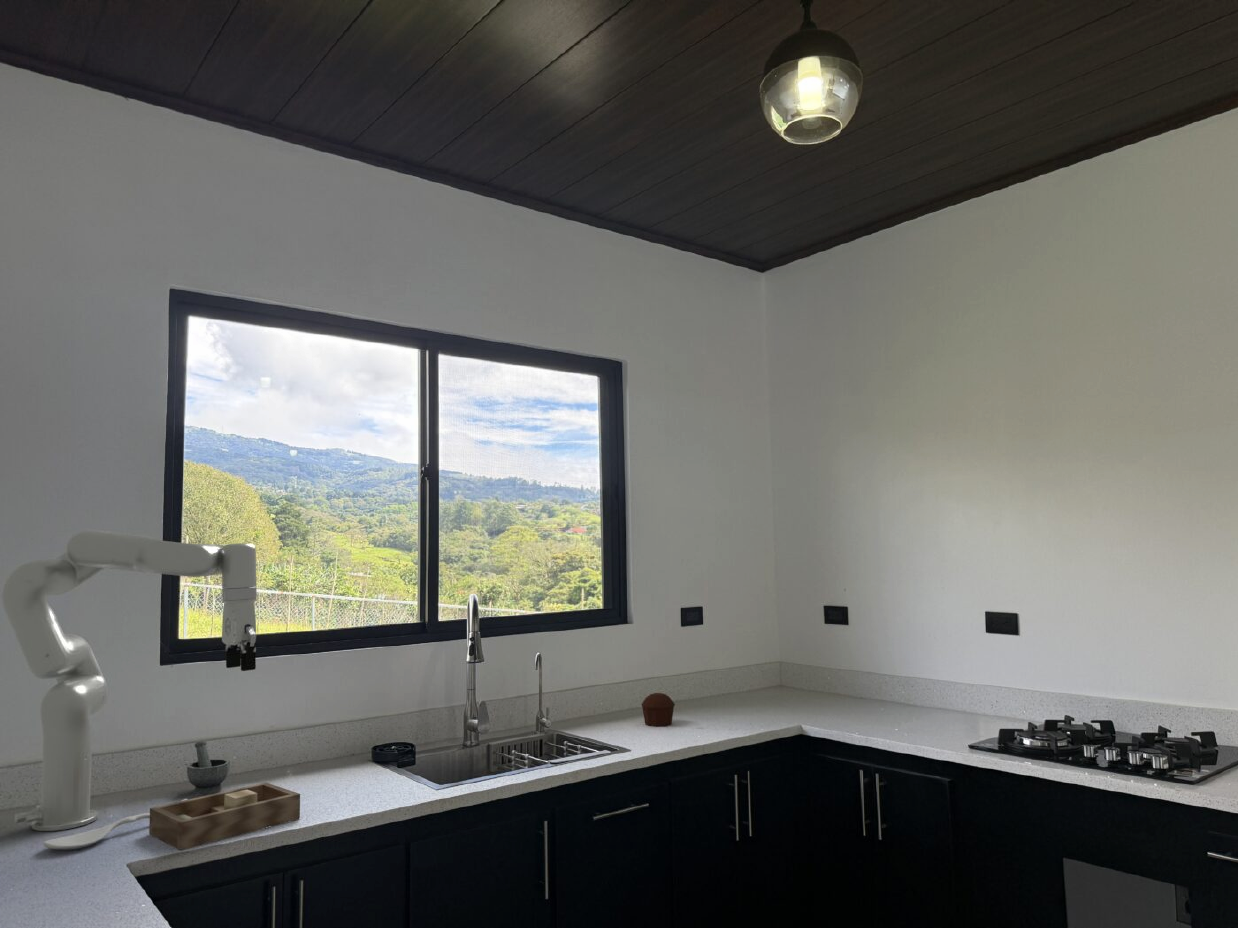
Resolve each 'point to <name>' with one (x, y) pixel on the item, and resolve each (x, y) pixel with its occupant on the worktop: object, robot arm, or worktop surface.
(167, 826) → the box
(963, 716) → the worktop surface
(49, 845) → the spoon
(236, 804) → the maple block
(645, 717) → the muffin
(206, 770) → the mortar and pestle
